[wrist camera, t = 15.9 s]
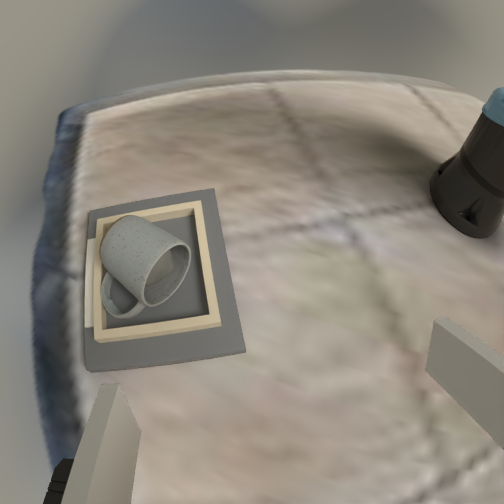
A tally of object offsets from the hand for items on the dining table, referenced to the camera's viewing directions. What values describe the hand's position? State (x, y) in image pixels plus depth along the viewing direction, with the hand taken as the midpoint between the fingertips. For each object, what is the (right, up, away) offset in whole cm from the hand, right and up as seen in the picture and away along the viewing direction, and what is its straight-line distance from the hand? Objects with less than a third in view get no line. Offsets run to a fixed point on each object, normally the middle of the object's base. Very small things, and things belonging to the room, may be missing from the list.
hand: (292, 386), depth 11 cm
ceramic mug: (-14, +1, +24) cm, 28 cm away
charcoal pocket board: (-13, +2, +26) cm, 29 cm away
